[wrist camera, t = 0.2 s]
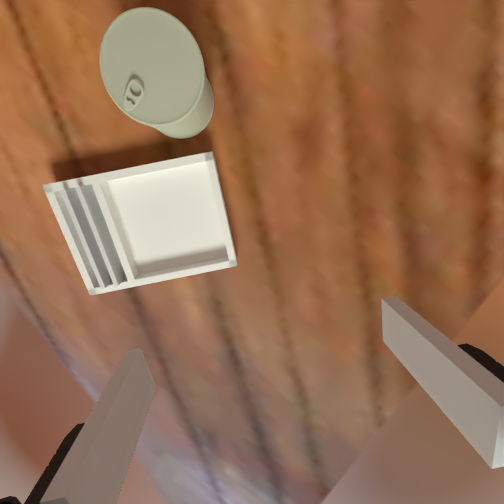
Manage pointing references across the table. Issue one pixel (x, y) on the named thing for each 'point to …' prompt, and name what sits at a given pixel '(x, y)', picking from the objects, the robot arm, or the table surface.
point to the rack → (145, 223)
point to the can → (156, 72)
